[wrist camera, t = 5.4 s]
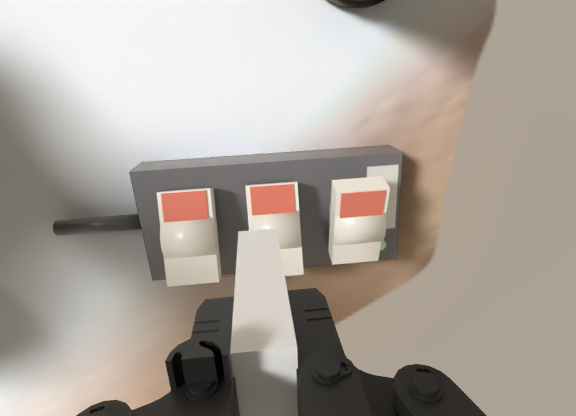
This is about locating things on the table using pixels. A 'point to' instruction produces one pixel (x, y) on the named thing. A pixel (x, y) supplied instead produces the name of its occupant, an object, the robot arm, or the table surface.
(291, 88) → the table surface
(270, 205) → the rocker
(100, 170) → the table surface
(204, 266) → the rocker
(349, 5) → the container
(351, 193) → the rocker
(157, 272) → the rocker switch panel
